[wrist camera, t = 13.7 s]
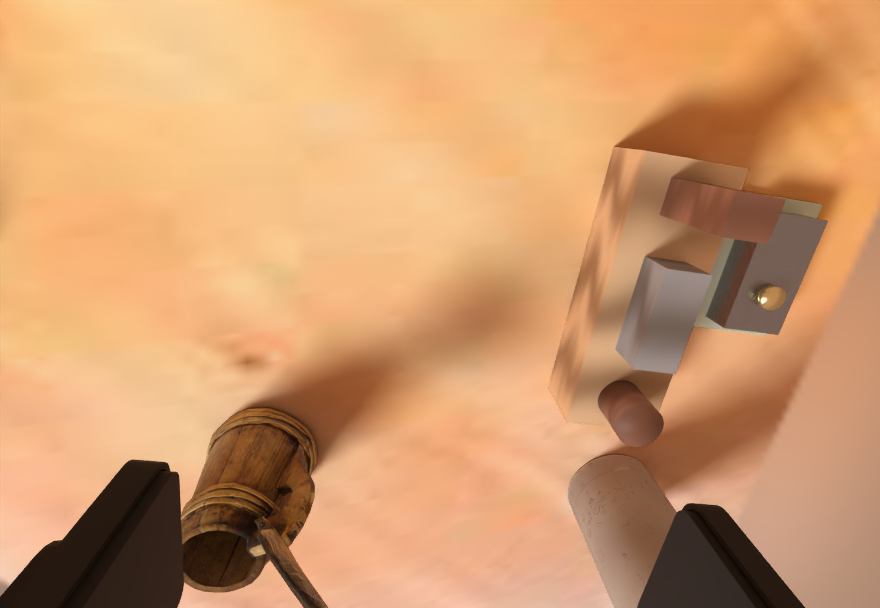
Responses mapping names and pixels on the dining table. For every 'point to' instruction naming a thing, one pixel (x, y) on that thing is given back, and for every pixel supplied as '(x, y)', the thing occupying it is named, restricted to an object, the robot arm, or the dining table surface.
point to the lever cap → (765, 276)
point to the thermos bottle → (621, 522)
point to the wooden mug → (251, 505)
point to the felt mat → (702, 320)
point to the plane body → (648, 284)
